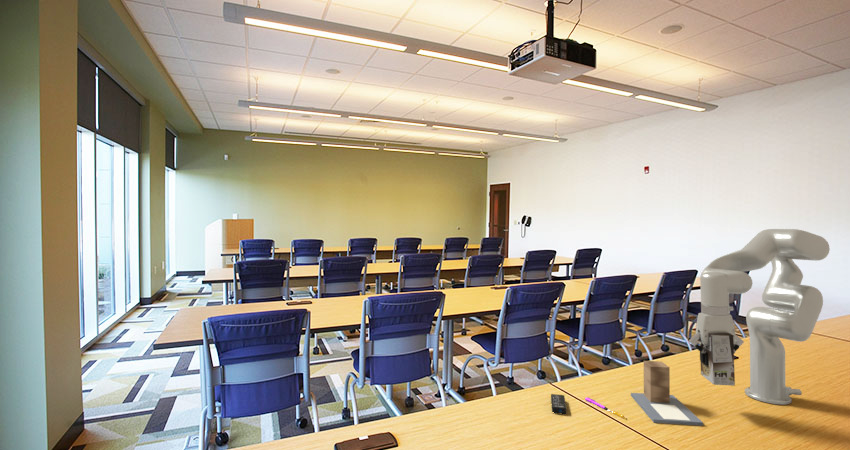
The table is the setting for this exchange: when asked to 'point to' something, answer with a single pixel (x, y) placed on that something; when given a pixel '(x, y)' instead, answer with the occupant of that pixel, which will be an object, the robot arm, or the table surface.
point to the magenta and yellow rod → (604, 407)
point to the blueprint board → (672, 402)
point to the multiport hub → (558, 403)
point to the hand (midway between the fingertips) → (716, 363)
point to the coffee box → (720, 360)
